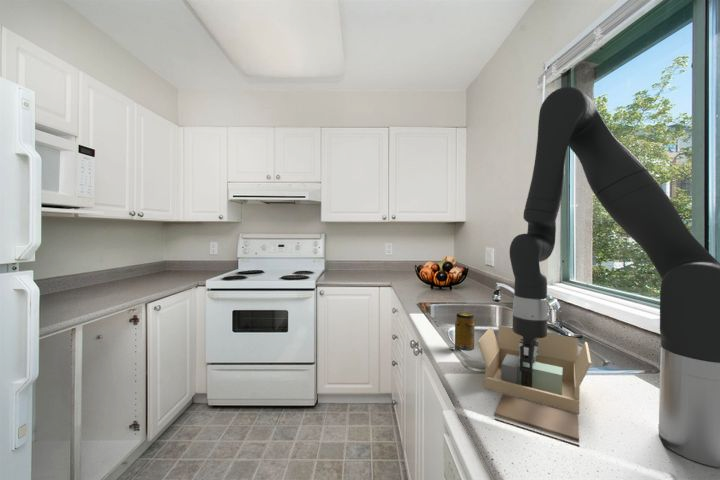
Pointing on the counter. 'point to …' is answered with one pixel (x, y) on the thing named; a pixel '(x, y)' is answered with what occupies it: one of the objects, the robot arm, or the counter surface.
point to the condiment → (464, 332)
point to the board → (539, 418)
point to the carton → (549, 352)
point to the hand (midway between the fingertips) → (528, 380)
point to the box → (542, 374)
